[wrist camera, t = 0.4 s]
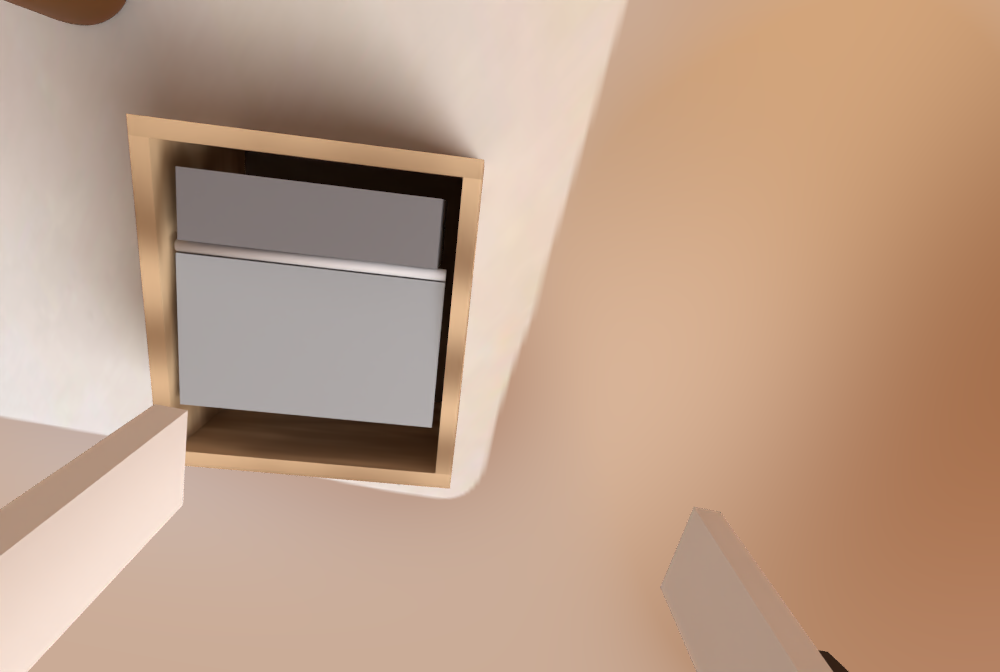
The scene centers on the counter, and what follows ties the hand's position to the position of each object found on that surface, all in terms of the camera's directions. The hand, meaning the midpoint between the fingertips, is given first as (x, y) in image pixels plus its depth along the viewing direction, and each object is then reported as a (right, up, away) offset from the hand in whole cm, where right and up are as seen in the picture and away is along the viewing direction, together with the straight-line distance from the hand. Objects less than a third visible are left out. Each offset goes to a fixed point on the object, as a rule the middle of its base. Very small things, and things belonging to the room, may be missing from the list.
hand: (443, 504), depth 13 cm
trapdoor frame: (-10, +8, +25) cm, 28 cm away
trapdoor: (-10, +7, +19) cm, 22 cm away
